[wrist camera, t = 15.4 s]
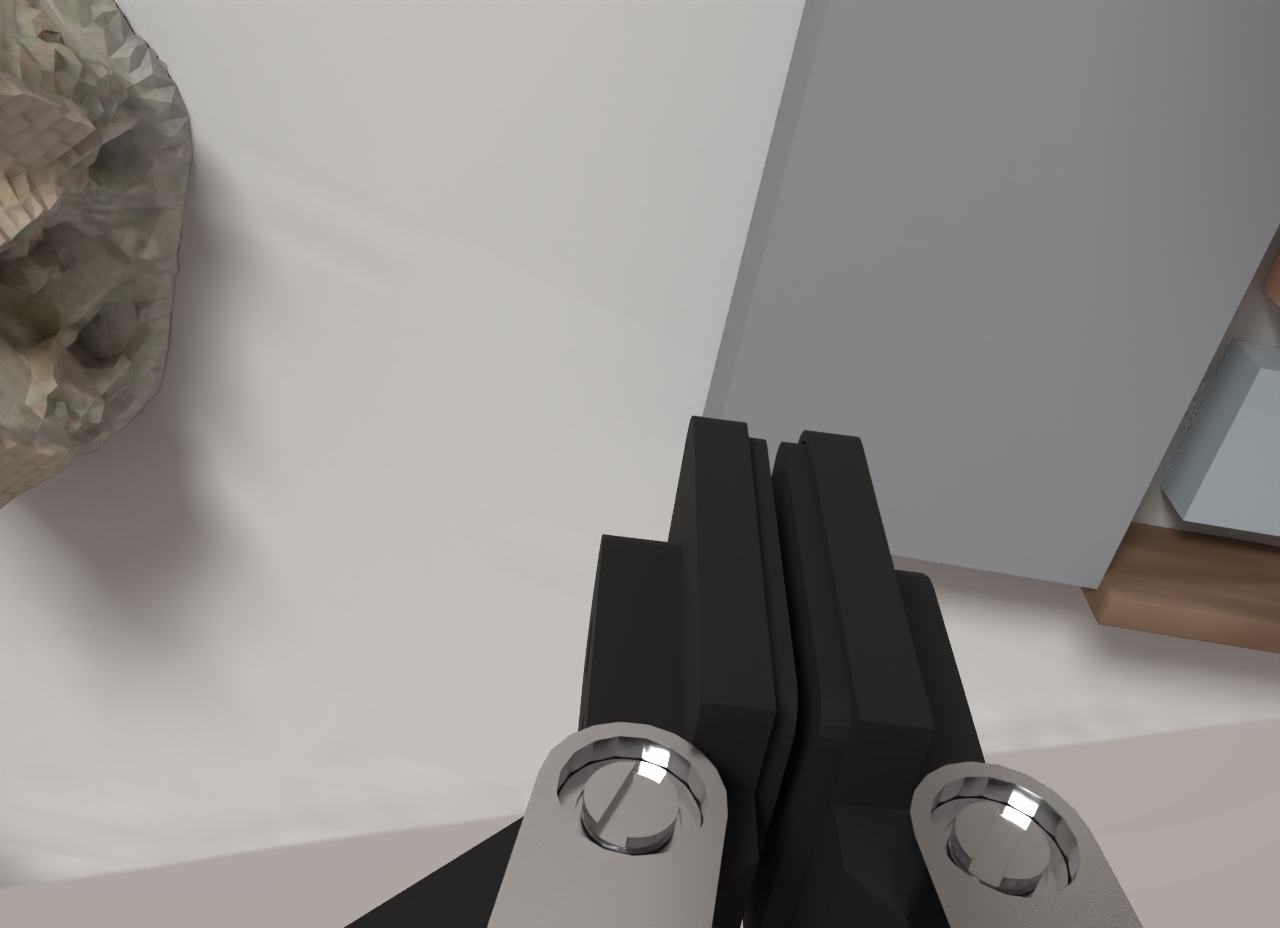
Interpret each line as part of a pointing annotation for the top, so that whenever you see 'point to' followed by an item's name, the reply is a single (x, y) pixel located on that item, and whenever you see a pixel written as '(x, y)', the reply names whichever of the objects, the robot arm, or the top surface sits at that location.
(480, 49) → the top surface
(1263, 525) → the blue-grey tile
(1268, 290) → the terracotta tile
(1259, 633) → the box
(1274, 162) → the grey flat block
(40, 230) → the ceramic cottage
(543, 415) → the top surface
